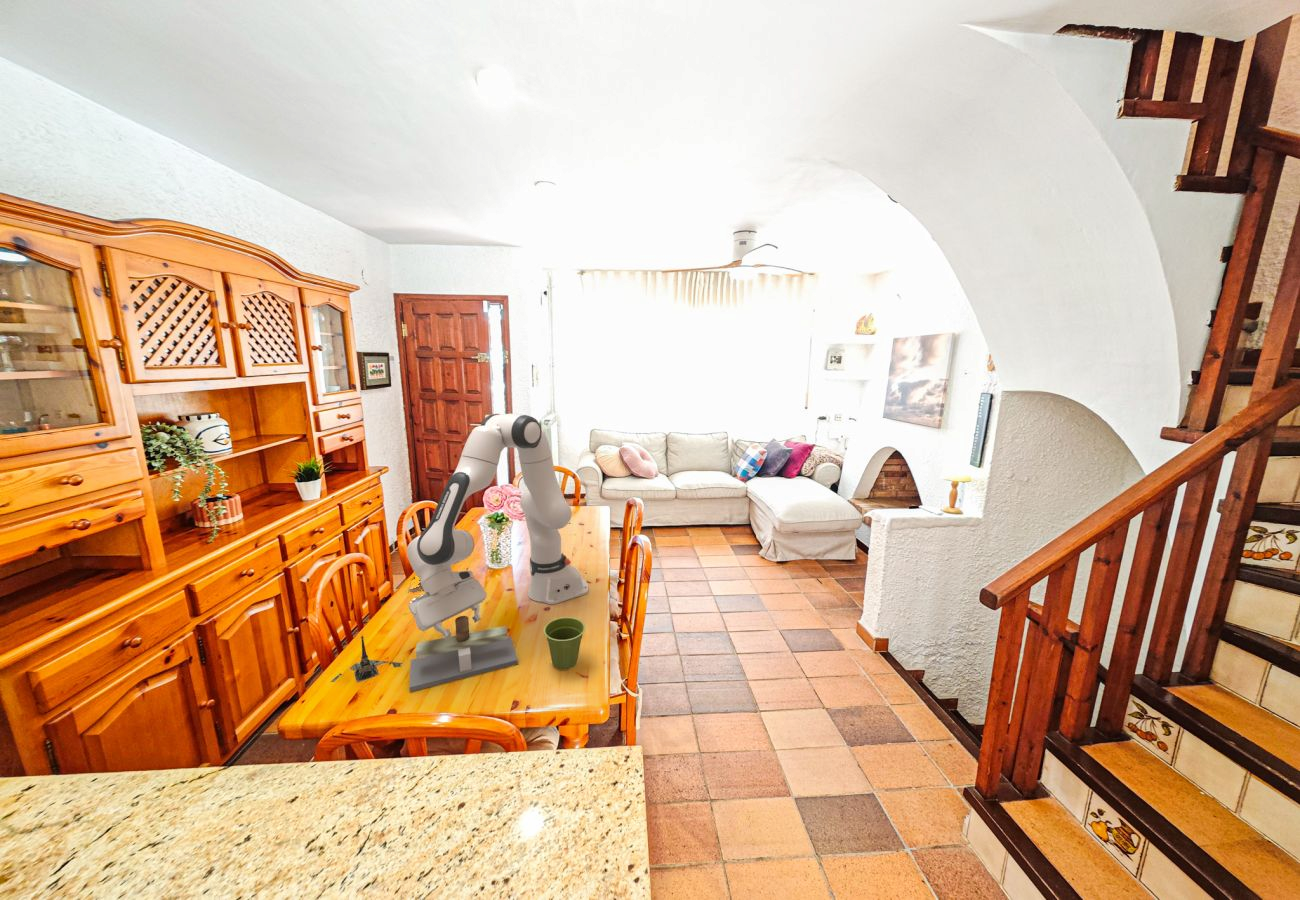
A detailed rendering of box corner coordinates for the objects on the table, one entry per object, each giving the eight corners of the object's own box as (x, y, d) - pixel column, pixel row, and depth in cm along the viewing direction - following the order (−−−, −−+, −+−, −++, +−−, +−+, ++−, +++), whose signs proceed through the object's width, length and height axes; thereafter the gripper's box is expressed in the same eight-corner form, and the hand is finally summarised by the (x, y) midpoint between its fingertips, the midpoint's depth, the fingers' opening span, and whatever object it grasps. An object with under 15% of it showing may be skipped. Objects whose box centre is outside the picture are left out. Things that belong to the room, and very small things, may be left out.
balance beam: (506, 631, 138) (505, 607, 136) (507, 639, 134) (506, 614, 133) (417, 649, 129) (415, 623, 127) (416, 658, 125) (413, 632, 124)
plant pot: (588, 672, 131) (588, 637, 129) (545, 679, 128) (545, 643, 125) (582, 646, 142) (582, 614, 140) (543, 653, 139) (542, 619, 137)
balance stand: (511, 640, 144) (510, 622, 143) (518, 664, 134) (517, 644, 132) (411, 664, 132) (409, 644, 131) (409, 692, 122) (407, 670, 120)
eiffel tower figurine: (405, 664, 133) (400, 623, 130) (381, 689, 123) (376, 645, 121) (356, 660, 135) (351, 619, 132) (329, 684, 125) (323, 640, 122)
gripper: (409, 596, 123) (432, 642, 120) (476, 568, 140) (498, 608, 137) (402, 606, 127) (424, 651, 124) (468, 577, 143) (489, 616, 140)
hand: (463, 628), depth 130 cm, fingers open, 8 cm apart
